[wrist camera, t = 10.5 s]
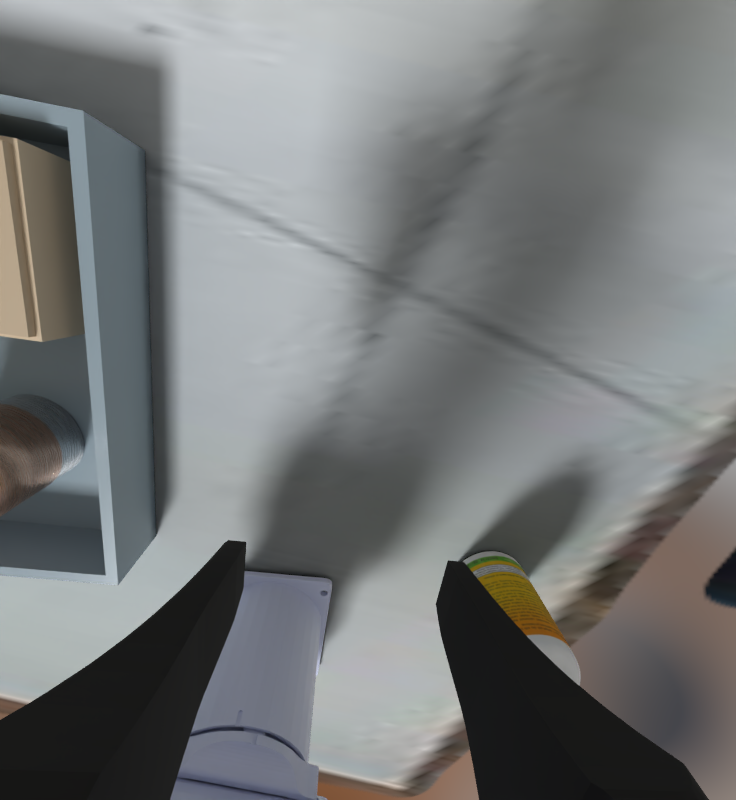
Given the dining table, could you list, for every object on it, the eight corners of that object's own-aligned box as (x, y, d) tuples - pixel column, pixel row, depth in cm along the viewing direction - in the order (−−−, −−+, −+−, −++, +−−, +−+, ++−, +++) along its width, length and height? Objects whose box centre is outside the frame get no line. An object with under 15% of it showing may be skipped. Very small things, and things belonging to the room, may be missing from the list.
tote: (156, 535, 23) (117, 585, 19) (-44, 516, 22) (-126, 564, 18) (144, 150, 16) (83, 110, 13) (-142, 94, 15) (-303, 33, 12)
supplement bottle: (441, 559, 25) (495, 721, 16) (516, 540, 25) (614, 693, 15) (456, 613, 27) (511, 788, 17) (526, 596, 26) (620, 764, 17)
